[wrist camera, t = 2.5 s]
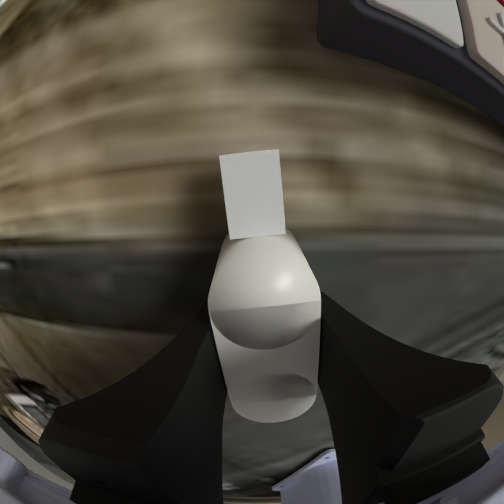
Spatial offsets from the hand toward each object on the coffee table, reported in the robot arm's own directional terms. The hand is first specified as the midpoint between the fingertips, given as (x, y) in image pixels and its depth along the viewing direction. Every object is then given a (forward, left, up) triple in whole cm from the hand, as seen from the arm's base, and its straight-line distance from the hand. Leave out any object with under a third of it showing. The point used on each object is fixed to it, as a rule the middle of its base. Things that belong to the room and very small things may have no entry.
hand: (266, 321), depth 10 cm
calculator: (+18, -3, -2) cm, 18 cm away
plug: (+1, +1, -1) cm, 2 cm away
